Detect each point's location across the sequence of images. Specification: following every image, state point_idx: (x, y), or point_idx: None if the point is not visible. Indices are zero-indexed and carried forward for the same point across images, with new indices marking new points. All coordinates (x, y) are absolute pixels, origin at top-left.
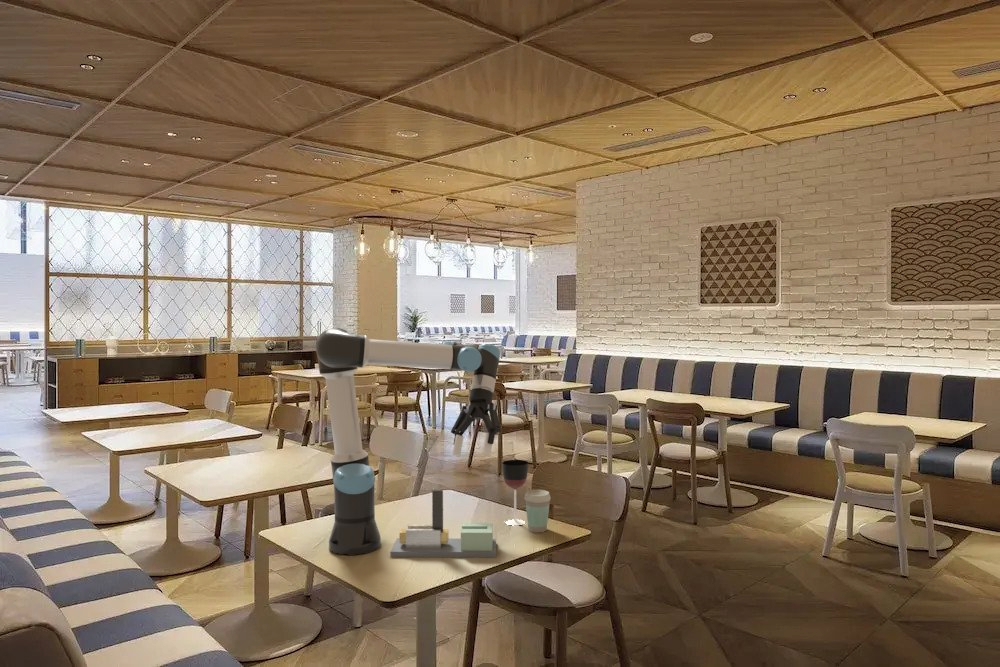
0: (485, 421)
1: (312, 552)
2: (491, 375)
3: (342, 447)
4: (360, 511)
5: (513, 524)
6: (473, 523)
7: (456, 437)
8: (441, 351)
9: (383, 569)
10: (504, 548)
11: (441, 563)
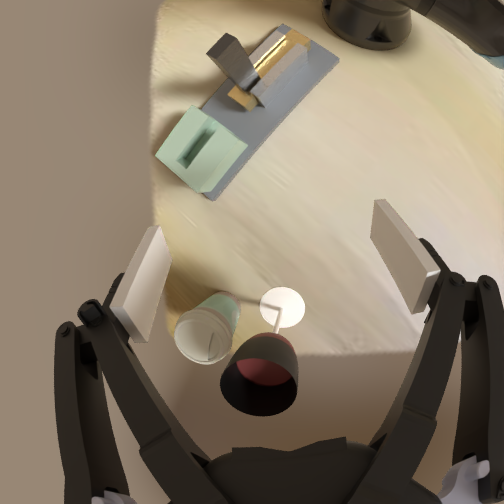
0: (125, 387)
1: None
2: None
3: None
4: None
5: (273, 296)
6: (218, 155)
7: (423, 257)
8: None
9: (245, 7)
10: (189, 196)
11: (205, 75)
